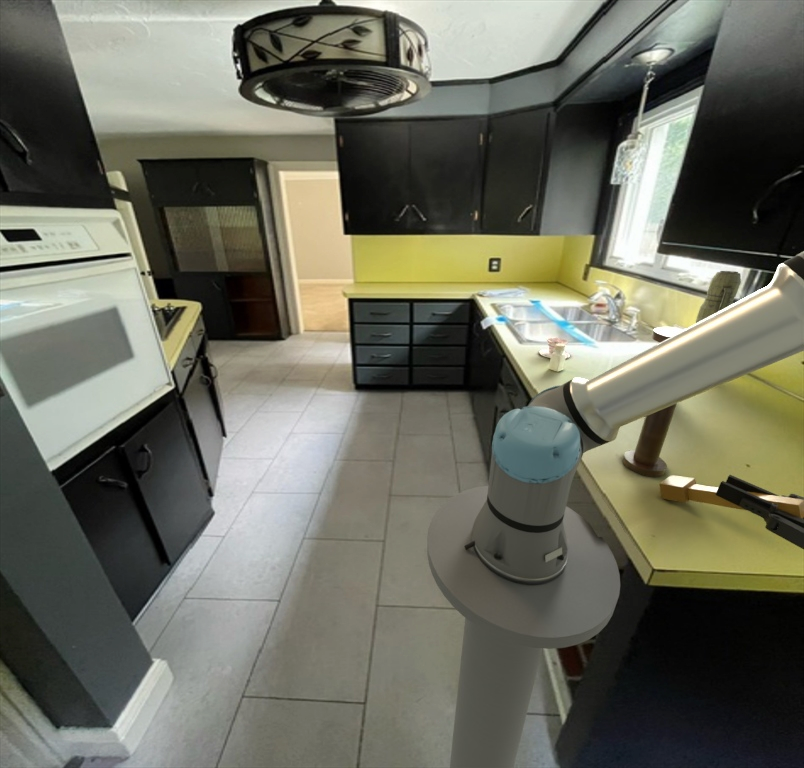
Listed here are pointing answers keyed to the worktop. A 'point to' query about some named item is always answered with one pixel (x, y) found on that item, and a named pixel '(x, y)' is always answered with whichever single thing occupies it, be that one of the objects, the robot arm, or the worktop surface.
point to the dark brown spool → (652, 429)
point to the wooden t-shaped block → (689, 490)
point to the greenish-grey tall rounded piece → (720, 293)
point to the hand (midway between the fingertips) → (723, 484)
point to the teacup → (553, 347)
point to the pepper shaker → (557, 358)
